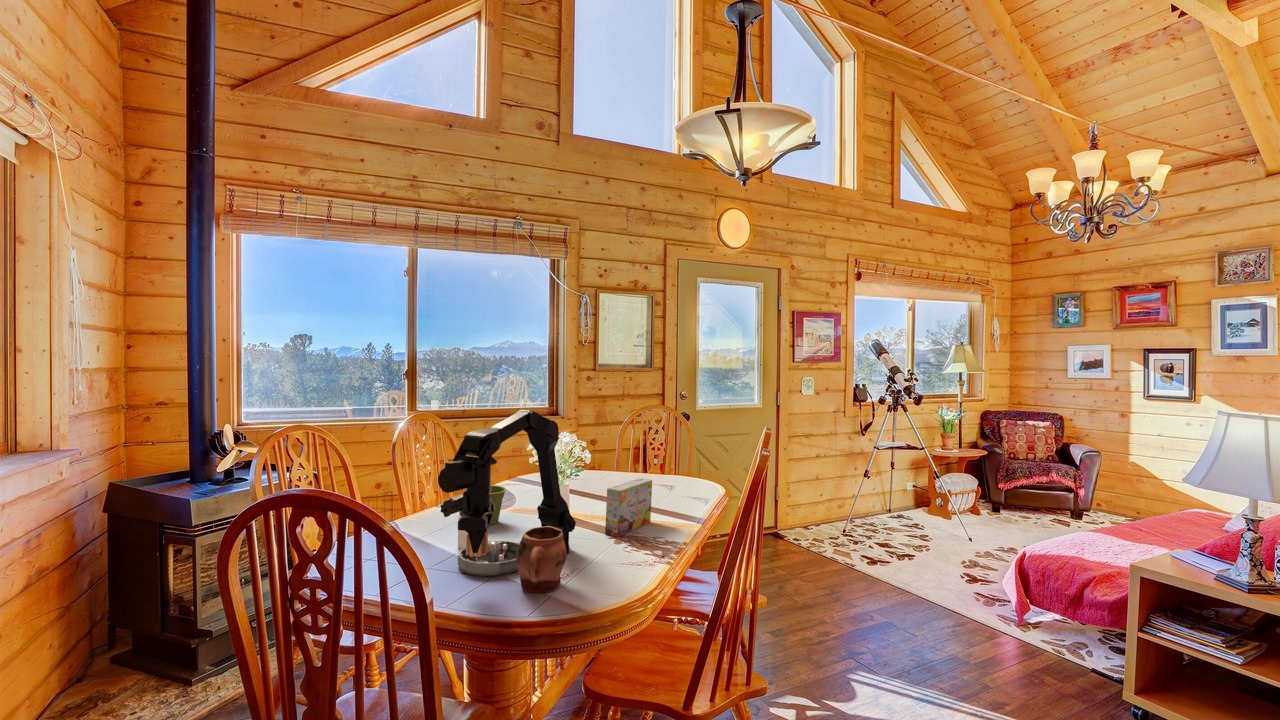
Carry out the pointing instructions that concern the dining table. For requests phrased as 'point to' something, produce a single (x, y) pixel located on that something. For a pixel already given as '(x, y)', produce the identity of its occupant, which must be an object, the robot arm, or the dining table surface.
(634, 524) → the snack box
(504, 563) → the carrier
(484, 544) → the bronze pinion
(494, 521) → the plant pot
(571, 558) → the dining table surface
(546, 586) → the terracotta mug
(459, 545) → the jar
